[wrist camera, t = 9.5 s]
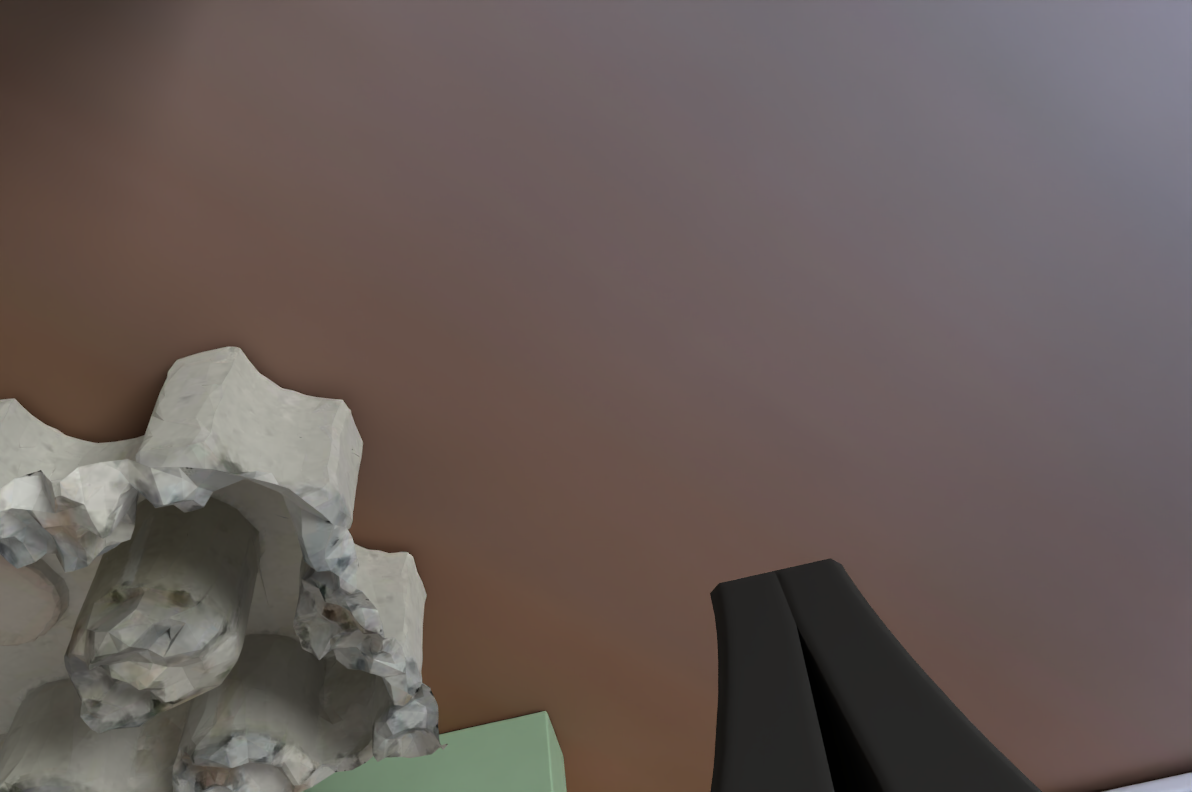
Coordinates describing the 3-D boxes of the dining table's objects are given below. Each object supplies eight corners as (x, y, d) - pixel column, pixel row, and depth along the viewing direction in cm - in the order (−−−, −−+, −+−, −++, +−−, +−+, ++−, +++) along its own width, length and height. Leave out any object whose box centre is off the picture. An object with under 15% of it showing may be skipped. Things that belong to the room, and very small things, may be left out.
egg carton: (-111, 755, 20) (-227, 980, 17) (-381, 435, 16) (-612, 652, 12) (460, 655, 20) (458, 861, 17) (347, 307, 16) (315, 489, 12)
